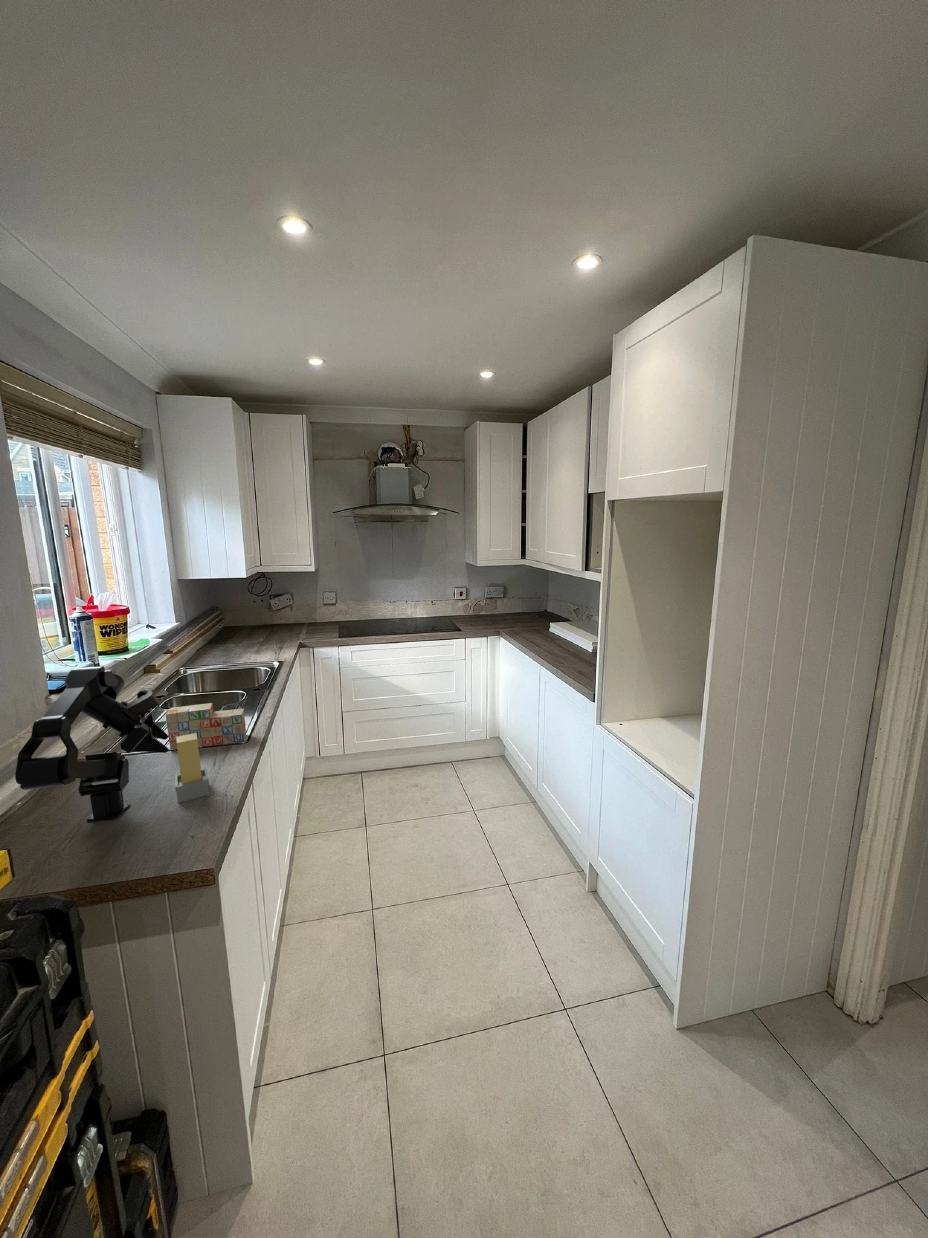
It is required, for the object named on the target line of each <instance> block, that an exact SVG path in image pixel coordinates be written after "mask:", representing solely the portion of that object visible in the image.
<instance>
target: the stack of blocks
mask: <svg viewBox="0 0 928 1238" xmlns="http://www.w3.org/2000/svg"><path fill="white" fill-rule="evenodd" d="M165 719H166V720H165V721H166V729H167V735H168V736H169V737H168V741H169V743H168V744H169V749H170V750H169V751H171V750H173V749H177V739H176V737H178V736H183V735H189V734H194V733H196V734H197V741H198V747H199V748H201V747H200V746H206V747H212V746H219V744H221V745H226V744H225V743H229V744H233V743H235V744H237V743H242V742H245V740H246V738H247V727H246V719H245V708H244V707H243V708H236V709H235V708H234V709H228V710H227V709H226V710H218V711H217V710H216V711H214V705H213V702H210V703H209V702H208V703H200V704H191V705H184V706H177V707H176V706H175V707H170V708H169V710H168V711H167V712H166V713H165ZM236 742H237V743H236Z"/></svg>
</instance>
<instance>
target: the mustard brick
mask: <svg viewBox="0 0 928 1238" xmlns="http://www.w3.org/2000/svg"><path fill="white" fill-rule="evenodd" d="M176 739H177V750H176V751H177V756H178V757H177V758H178V764H179V771H180V773H179V774H181V781H182V785H184V784H189V783H193V782H197V781H201V780H202V775H201V770H202V767H201V758H200V753H199V751H200V750H199V748H198V741H197V734H196V733H194V734H189V735H183V736H178V737H176Z"/></svg>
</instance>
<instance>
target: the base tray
mask: <svg viewBox="0 0 928 1238" xmlns="http://www.w3.org/2000/svg"><path fill="white" fill-rule="evenodd" d="M207 770H208V769H207V768H201V775H202V780H201V781H197V782H193V783H189V784H184V785H182V781H181V773H179V774H176V775H174V785H175V786H174V787H175V792H176V798H177V803H178V804H179V803H183V802H187V801H190V800H194V799H198V798H202V797H203V798H204V797H207V796H210V789H209V788H210V787H209V776H208V771H207Z"/></svg>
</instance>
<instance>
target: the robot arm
mask: <svg viewBox="0 0 928 1238" xmlns="http://www.w3.org/2000/svg"><path fill="white" fill-rule="evenodd" d="M64 683H65V686H66V687H65V689H64V690H63V691H62V693H61V694H60V695H59V696H58V697H57V698H56V700H55V701H54V702H53V703H52V705H51V706H49V708H48V710H47V711H46V712H45V713H44V714H43V716H41V718H39V719H36V720H35V721H34V722H33V725H32V730H31V735H30V738H29V739H28V740H27V741H26V742H25V744H24V746H22V748H21V749H20V751H19V752H18V755H17V760H16V766H15V767H16V768H15V775H14V779H15V782H16V784H18V785H20V786H19V788H20V789H21V790H22V791H23V790H24V791H27V790H35V789H44V788H50V787H52V788H53V787H59V786H66V785H69V784H70V783H73V782H75V781H76V780H80V782H79V785H78V794H79V796H80V797H84V796H85V797H86V796H89V798H90V799H89V800H90V806H91V812H92V813H91V814H90V815H89V816H87V817H86V821H89V822H90V821H91V822H92V821H107V820H108V821H109V820H115V819H117V818H118V817H119V816H120V815H121V814H123V812H125V811H126V810H127V809H128V808H129V807H131V803H130V802H125V803H124V796H123V790H124V789H125V788H126V786H127V785H128V784H129V782H130V781H129V780H130V776H129V775H130V772H129V771H130V765H129V764H130V763H129V759H127V758H126V756H125V755H124V754H122V751H124V752H126V753H128V754H129V753H131V752H132V753H134V752H136V753H137V752H143V753H160V754H161V753H162V754H166V753H168V751H170V750H169V749H170V748H169V747H167V746H166V745H165V744H163V742H161V741H160V740H168V739H169V736H168V733H167V732H166V731H164V729H162V728H161V727H160V725H158V724H157V722H156V721H155V720H154V714H153V713H154V712H153V711H152V710H154V709H156V708H157V707H158V706H160V703H159V702H160V700H159V698H158V697H157V696H156V693H155V692H153V691H152V690H149V691H148V690H146V689H141V690H138V691H137V692H136V693H137V694H136V695H137V697H136V698H134V700H133V701H131V702H127V701H125V700H124V701H123V700H121V702H120V701H117V698H118V697H119V695H120V693H121V692H122V690H123V689H124V688H125V679H123V677H122V676H120V675H119V674H117V673H114V672H113V669H106V668H105V666H104V665H103V666H101V665H100V666H91V667H90V666H89V667H77V668H71V669H70V671H69V672H68V674H66V677H65V679H64ZM80 713H82V714H84V715H85V716H87V717H90V718H91V719H93V720H95V721H97V722H99V723H100V724H102V726H101V727H102V728H104V729H106V730H107V729H108V728H109V729H112V730H114V731H115V732H117V733H118V737H120V738H121V739H120V742H119V743H120V749H121V750H122V751H116V752H115V751H110V752H103V753H102V752H101V753H93V754H85V755H84V760H78V758H79V757H78V756H79V748H78V746H77V745H76V744H75V742H74V740H73V738H72V737H71V730H72V729H71V728H72V725H73V723H74V722H75V721H76V720H77V718H78V717H79V715H80ZM50 738H51V739H53V738H60V740H61V742H62V743H63V745H64V747H65V749H66V752H65V754H59V755H48V756H40V757H33V755H34V753H35V752H36V751H37V750H38V749H39V747H40V746H41V744H42V743H43V742H44V740H45V739H50ZM159 739H160V740H159Z"/></svg>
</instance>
